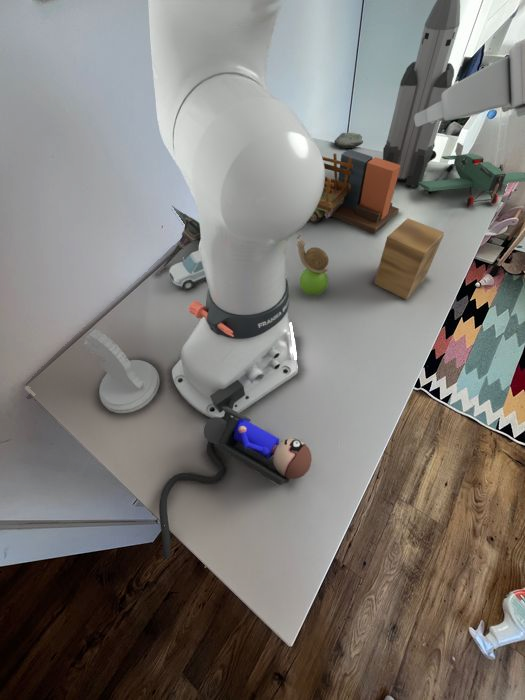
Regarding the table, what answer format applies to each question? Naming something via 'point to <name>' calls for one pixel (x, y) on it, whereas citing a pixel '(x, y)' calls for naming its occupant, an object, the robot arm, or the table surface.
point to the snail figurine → (313, 269)
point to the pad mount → (359, 197)
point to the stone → (348, 140)
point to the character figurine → (259, 447)
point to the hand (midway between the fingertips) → (423, 119)
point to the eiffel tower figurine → (186, 234)
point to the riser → (407, 257)
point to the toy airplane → (474, 176)
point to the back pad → (379, 185)
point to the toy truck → (332, 190)
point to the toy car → (188, 271)
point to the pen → (444, 175)
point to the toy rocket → (423, 94)
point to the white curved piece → (122, 376)
